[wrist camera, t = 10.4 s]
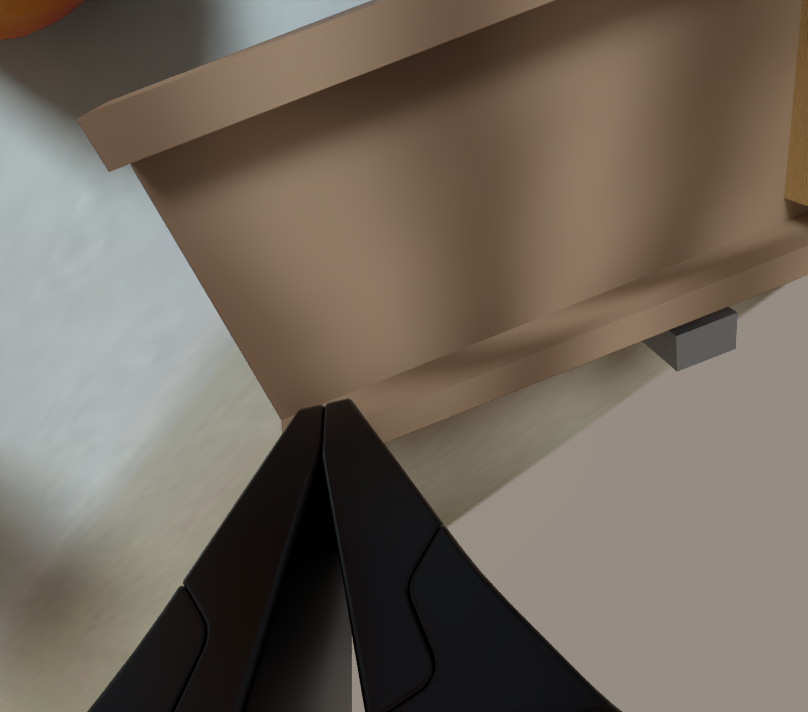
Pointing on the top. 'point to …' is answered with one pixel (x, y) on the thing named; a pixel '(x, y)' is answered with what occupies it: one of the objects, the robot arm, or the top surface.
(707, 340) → the beam stand
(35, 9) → the fruit
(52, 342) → the top surface
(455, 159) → the beam
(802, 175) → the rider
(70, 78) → the top surface
